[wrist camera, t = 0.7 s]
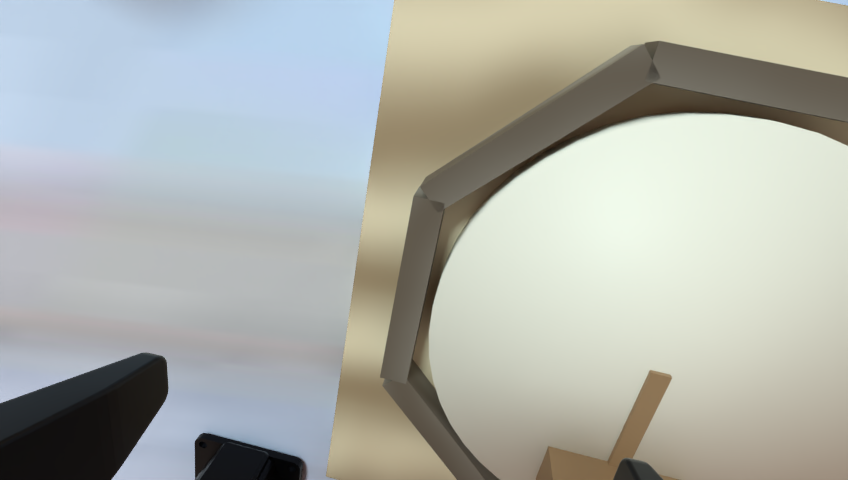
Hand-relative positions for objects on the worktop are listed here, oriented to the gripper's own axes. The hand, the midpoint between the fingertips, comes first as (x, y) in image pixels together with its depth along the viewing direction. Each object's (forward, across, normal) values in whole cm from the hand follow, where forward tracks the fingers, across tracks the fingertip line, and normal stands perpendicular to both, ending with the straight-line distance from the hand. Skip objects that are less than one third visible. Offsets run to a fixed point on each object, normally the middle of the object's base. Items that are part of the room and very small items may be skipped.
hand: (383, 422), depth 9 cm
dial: (+11, -10, +3) cm, 15 cm away
